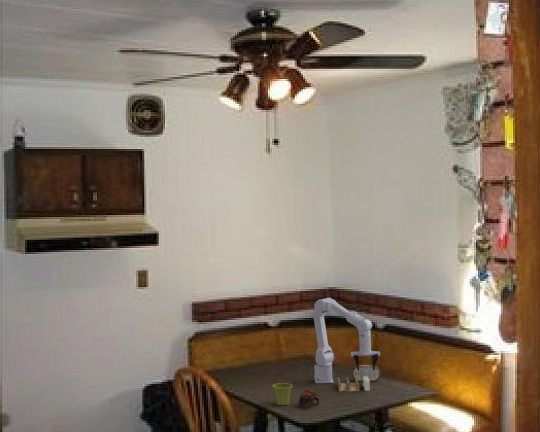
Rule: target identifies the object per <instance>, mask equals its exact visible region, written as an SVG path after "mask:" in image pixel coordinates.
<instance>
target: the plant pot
mask: <svg viewBox="0 0 540 432" xmlns="http://www.w3.org/2000/svg"><path fill="white" fill-rule="evenodd" d="M292 387H293V384H291V383H287V382H279V383H274V384H272V388H273V391H274V397H275V401H276V402H275V403H276V405H277V406H287V405H289V404H290V401H291V400H290V399H291V391H292Z"/></svg>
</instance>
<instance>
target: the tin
mask: <svg viewBox="0 0 540 432" xmlns="http://www.w3.org/2000/svg"><path fill="white" fill-rule="evenodd" d="M351 374H352V377H353V379H354V380H355V377H357V379H358V382H363V376H368V378H369V380H370V382H376V381H378V380H379V379H380V377H381V369H380V367H379V366H377V365H375V370H373V364H359V371H358V370H357V365H356V364H355V366H353V367H352V370H351Z"/></svg>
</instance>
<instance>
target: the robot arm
mask: <svg viewBox="0 0 540 432" xmlns="http://www.w3.org/2000/svg"><path fill="white" fill-rule="evenodd" d="M313 306H314V309H313V313H312V316H313V322H314V328H315V335H316V340H317V341H316V342H317V349H316V351H315V363H316V364H314V376H313V379H314V382H315V384H334V380H333V361H334V360H335V355H334V352H333V350H332V348H331V346H330V345H329V342H328V334H327V328H326V322H325V316H326V314H327V313H328V312H330V311H334V312H336V313H337V314H339V315H341V316H343V317H345V318H346V322H348V323H350V324H351V325H353V326H354V327H356V329H357V330H358V335H359V341H358V342H359V343H358V344H359V350H358V351H350V356H351V357H352V358H353V360H354V361H355V366H356V365H357V370H358V371H359V365H360V359H359V357H371V358H372V365H373V370H375V365H376V364H377V361H378V359H379V357H380V356H381V352H380V351H379V350H378V351H375V350H372V338H371V337H372V335H371V334H372V333H371V330H372V328H373V322H372V321H371V320H370V318H365V317H364V316H361V315H360V314H358V312H357V311H353V310H352V311H349V310H348V309H346V308H345V307H344V306H342V305H341V304H339V303H338V302H337V301H336V300H335V299H333V298H331V297H326V298H322V299H318V300H317V301H315V303H314V305H313ZM376 366H377V365H376Z"/></svg>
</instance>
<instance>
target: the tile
mask: <svg viewBox="0 0 540 432" xmlns="http://www.w3.org/2000/svg"><path fill="white" fill-rule="evenodd" d="M370 385H371V381H370V380H369V378H368V376H363V381H362V388H363V390H364V392H365V391H366V392H367V391H368V392H370V391H371V386H370Z"/></svg>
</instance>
